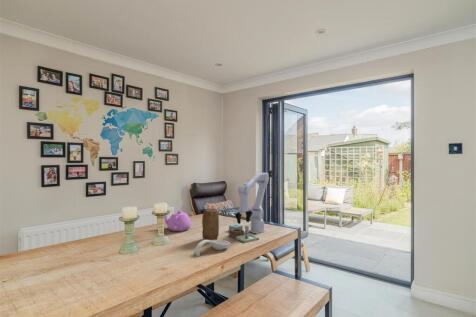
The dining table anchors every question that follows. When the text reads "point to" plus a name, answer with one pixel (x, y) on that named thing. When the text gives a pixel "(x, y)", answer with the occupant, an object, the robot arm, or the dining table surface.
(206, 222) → the block
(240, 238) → the tray
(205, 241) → the spoon rest
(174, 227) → the teapot
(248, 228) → the pin gauge
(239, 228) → the teal block
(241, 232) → the walnut bore block
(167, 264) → the dining table surface
